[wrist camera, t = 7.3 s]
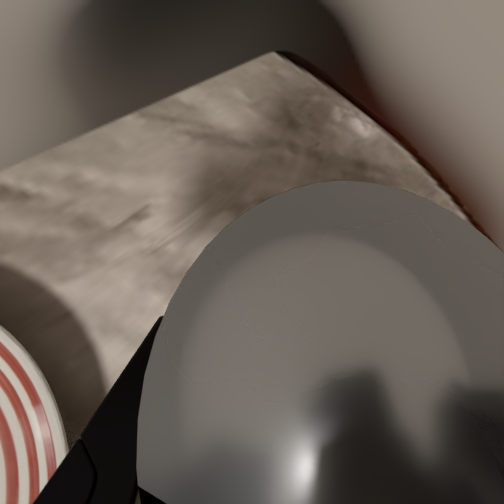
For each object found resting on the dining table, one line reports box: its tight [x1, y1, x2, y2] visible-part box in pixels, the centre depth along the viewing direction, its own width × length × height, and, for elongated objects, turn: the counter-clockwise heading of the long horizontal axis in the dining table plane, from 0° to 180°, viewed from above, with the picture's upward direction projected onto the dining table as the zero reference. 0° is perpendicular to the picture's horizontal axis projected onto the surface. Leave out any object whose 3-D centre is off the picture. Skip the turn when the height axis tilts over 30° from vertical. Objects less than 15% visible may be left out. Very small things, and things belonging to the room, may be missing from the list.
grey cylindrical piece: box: [136, 181, 504, 504], centre depth 8 cm, size 5×5×12 cm
